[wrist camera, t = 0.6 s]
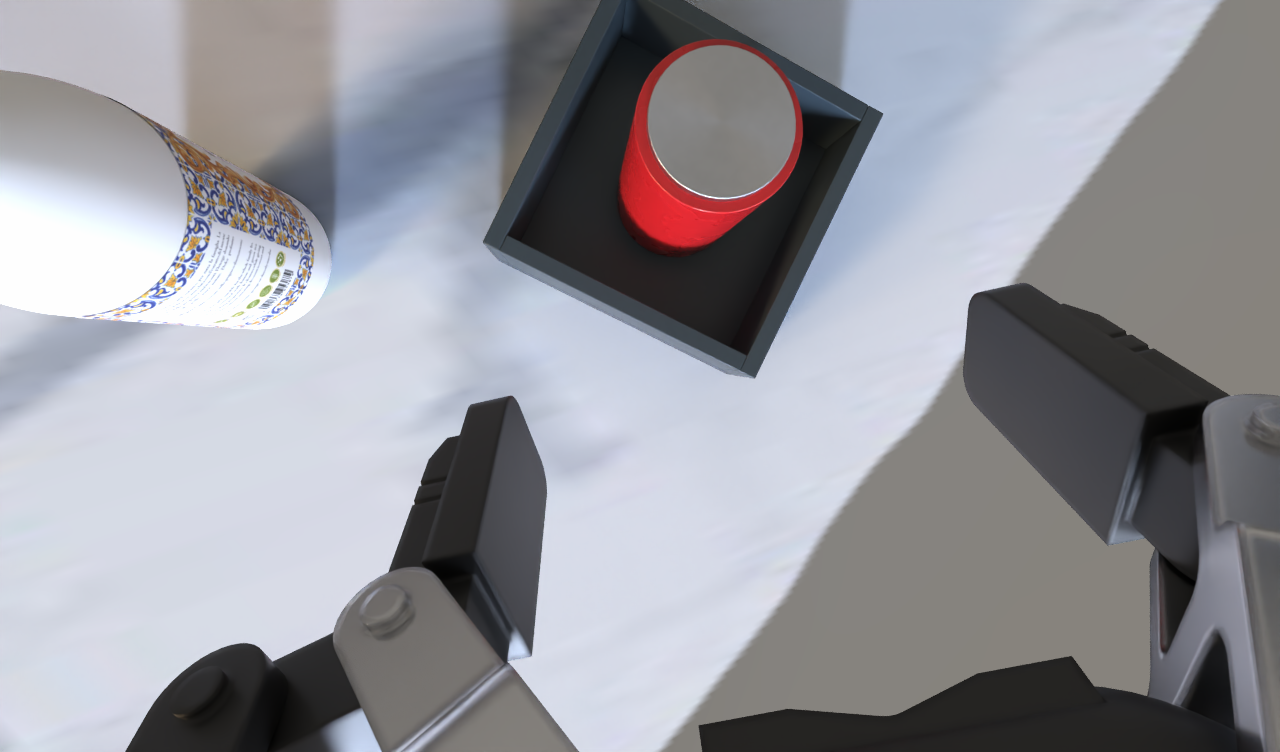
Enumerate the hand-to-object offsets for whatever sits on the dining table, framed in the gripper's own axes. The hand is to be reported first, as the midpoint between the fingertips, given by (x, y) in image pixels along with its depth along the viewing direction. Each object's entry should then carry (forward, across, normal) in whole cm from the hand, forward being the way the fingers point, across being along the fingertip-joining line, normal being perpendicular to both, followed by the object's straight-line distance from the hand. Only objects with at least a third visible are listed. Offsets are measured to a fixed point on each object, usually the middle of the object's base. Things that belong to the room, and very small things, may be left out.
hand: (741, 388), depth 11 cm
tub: (+23, -1, +4) cm, 23 cm away
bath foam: (+21, +20, +1) cm, 29 cm away
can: (+22, -1, +3) cm, 22 cm away
